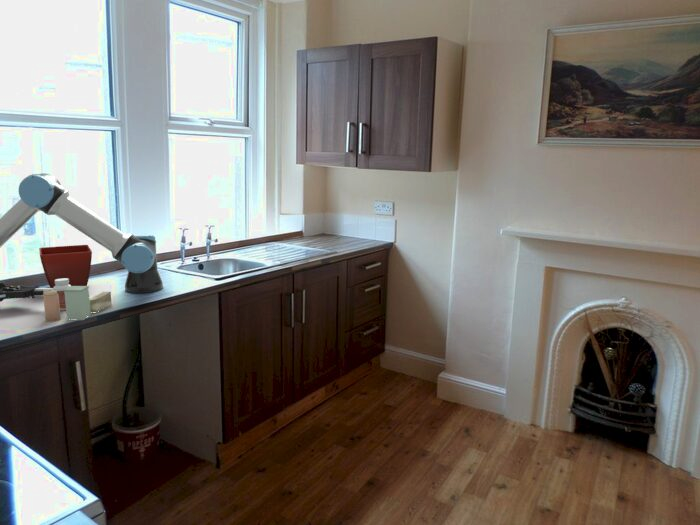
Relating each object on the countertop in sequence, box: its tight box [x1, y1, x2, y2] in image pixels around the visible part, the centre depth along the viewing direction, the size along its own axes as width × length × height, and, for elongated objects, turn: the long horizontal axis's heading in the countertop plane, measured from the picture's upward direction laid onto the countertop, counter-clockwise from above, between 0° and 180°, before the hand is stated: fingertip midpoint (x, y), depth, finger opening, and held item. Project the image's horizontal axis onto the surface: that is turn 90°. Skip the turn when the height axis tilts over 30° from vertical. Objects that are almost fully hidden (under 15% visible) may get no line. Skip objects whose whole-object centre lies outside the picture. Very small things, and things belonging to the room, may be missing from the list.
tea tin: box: [64, 285, 92, 321], centre depth 194 cm, size 6×6×11 cm
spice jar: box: [42, 290, 62, 322], centre depth 192 cm, size 5×5×10 cm
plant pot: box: [38, 244, 93, 288], centre depth 236 cm, size 19×19×17 cm
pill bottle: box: [53, 278, 71, 311], centre depth 205 cm, size 6×6×11 cm
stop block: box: [89, 291, 112, 313], centre depth 206 cm, size 3×12×5 cm, turn 179°
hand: (53, 292), depth 205 cm, fingers closed
